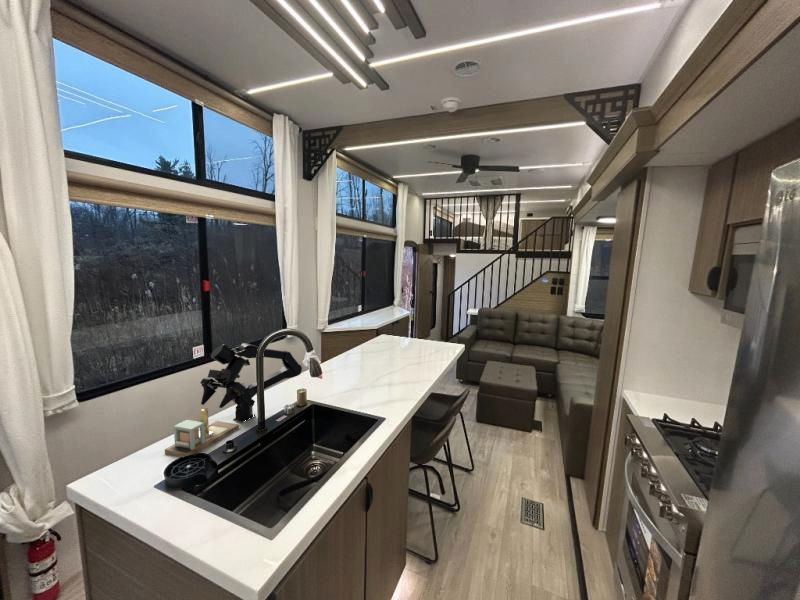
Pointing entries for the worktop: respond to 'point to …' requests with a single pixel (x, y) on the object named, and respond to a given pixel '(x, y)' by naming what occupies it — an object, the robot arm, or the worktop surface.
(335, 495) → the worktop surface
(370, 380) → the worktop surface
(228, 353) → the robot arm
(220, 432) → the track board
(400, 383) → the worktop surface
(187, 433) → the terracotta block
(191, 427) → the tunnel
